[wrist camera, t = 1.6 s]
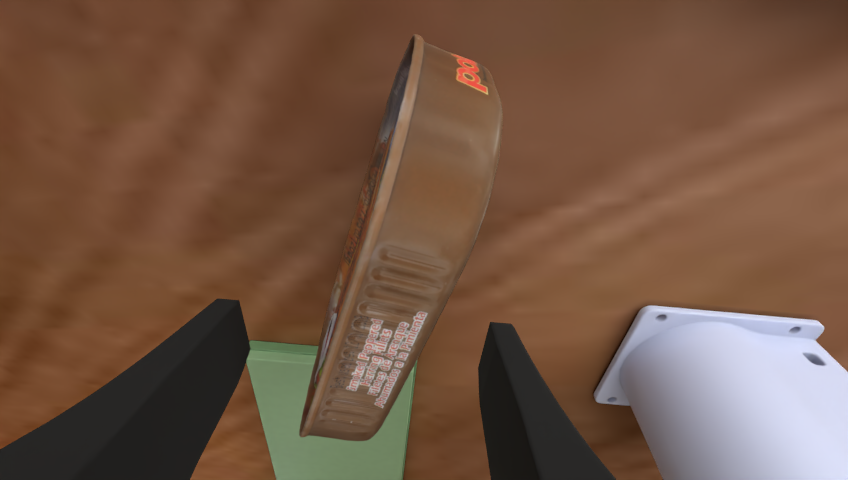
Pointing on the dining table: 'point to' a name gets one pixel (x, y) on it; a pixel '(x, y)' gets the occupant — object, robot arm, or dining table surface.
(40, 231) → the dining table surface
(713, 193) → the dining table surface
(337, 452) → the lid
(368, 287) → the tin
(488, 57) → the dining table surface
